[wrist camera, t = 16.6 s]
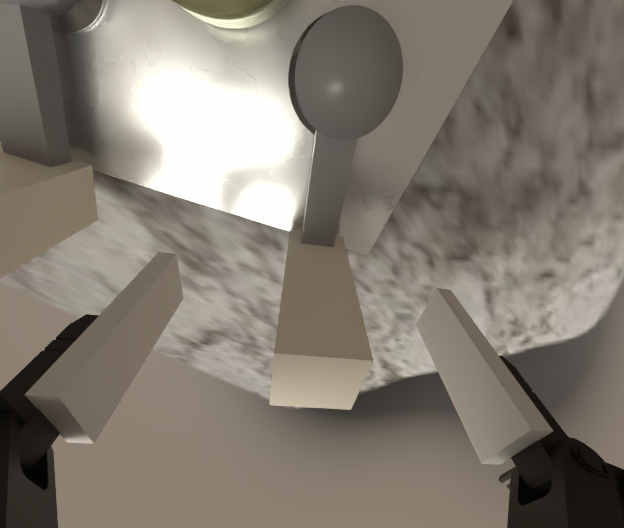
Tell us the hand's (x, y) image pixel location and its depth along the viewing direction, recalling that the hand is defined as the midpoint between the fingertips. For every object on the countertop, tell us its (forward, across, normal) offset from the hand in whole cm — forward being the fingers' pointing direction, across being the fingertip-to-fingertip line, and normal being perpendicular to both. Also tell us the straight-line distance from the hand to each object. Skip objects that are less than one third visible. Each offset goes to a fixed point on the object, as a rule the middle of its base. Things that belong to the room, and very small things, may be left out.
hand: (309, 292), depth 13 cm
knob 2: (+4, 0, +5) cm, 6 cm away
